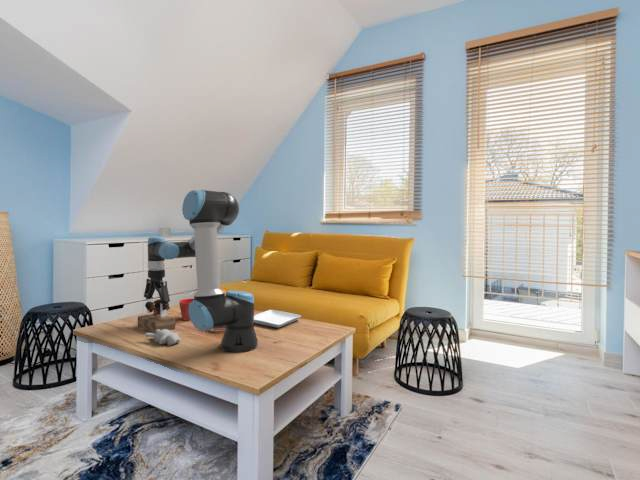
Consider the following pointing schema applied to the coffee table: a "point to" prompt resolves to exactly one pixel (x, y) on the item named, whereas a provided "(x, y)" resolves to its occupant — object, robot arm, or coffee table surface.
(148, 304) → the pottery mug
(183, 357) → the coffee table surface
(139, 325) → the walnut block
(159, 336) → the bunny figurine
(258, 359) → the coffee table surface
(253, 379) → the coffee table surface
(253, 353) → the coffee table surface
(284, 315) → the salad plate
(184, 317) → the flower pot
